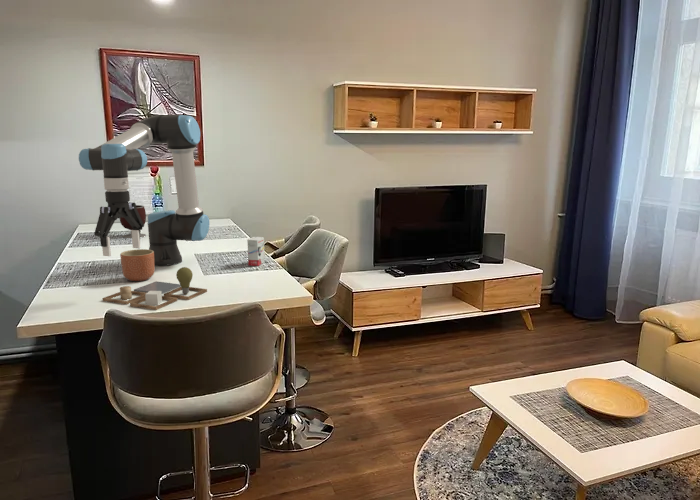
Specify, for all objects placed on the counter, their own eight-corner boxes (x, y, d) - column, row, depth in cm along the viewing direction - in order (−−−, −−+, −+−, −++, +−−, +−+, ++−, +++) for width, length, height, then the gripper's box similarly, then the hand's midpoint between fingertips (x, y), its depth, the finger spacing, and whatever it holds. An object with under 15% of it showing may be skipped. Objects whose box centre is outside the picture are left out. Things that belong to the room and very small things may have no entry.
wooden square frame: (102, 300, 182) (102, 298, 181) (125, 292, 191) (125, 289, 191) (127, 304, 178) (126, 301, 178) (149, 295, 188) (149, 293, 188)
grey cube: (146, 305, 177) (145, 294, 177) (150, 301, 181) (149, 290, 181) (157, 305, 177) (157, 294, 177) (162, 302, 181) (161, 290, 180)
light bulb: (179, 292, 193) (177, 265, 191) (195, 291, 193) (193, 265, 191) (176, 296, 187) (174, 269, 185) (191, 296, 188) (190, 269, 186)
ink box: (258, 266, 231) (257, 240, 229) (247, 265, 232) (246, 239, 230) (265, 262, 240) (264, 236, 237) (254, 261, 241) (254, 236, 238)
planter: (135, 285, 201) (133, 257, 199) (115, 280, 208) (113, 253, 205) (162, 278, 212) (160, 251, 209) (142, 273, 218) (140, 247, 216)
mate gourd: (152, 236, 300) (150, 201, 295) (131, 239, 288) (128, 203, 284) (135, 233, 308) (132, 199, 303) (114, 236, 296) (110, 201, 292)
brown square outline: (163, 296, 187) (163, 293, 187) (182, 288, 197) (182, 286, 197) (188, 299, 184) (188, 297, 183) (207, 291, 193) (206, 289, 193)
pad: (133, 291, 193) (133, 289, 193) (156, 282, 204) (156, 281, 204) (160, 294, 189) (160, 293, 189) (181, 286, 200) (181, 284, 200)
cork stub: (118, 299, 184) (117, 288, 183) (126, 296, 187) (125, 285, 186) (126, 300, 182) (125, 289, 182) (134, 297, 186) (133, 286, 185)
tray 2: (130, 306, 176) (130, 303, 176) (152, 297, 186) (152, 294, 186) (156, 309, 173) (155, 307, 172) (177, 300, 182) (177, 298, 182)
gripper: (96, 194, 164) (102, 260, 168) (151, 187, 187) (156, 245, 191) (78, 193, 167) (84, 258, 171) (135, 186, 189) (139, 244, 194)
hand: (122, 252), depth 181 cm, fingers open, 13 cm apart
